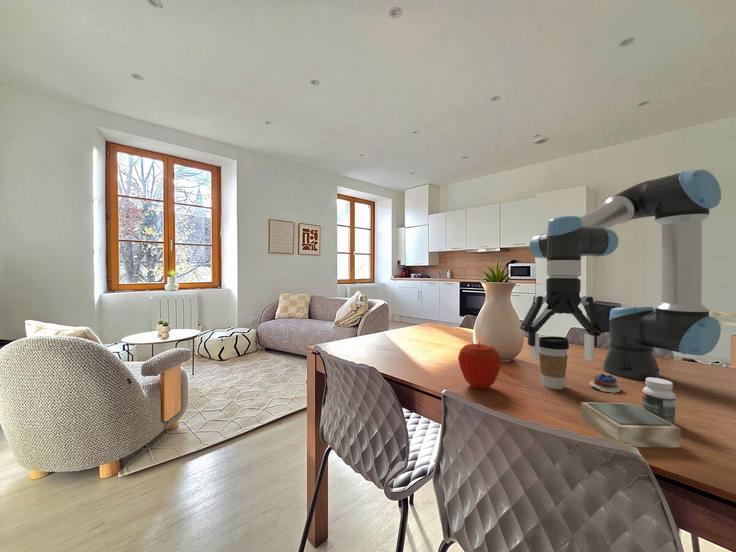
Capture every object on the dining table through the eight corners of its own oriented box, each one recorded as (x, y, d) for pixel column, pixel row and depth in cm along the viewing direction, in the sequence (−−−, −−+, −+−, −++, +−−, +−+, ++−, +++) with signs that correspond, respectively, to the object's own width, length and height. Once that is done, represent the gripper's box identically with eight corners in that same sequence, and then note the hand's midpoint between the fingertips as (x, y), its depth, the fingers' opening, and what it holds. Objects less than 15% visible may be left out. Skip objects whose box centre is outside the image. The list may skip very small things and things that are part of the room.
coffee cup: (573, 392, 92) (574, 341, 92) (542, 390, 94) (542, 340, 94) (562, 382, 100) (562, 335, 100) (533, 380, 102) (533, 334, 102)
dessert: (602, 378, 100) (614, 368, 96) (618, 398, 95) (631, 388, 91) (581, 381, 98) (592, 370, 94) (596, 401, 93) (608, 391, 89)
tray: (632, 419, 75) (632, 402, 75) (680, 448, 63) (680, 426, 63) (580, 418, 75) (580, 401, 75) (618, 446, 63) (618, 425, 63)
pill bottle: (635, 417, 76) (636, 376, 76) (657, 416, 77) (657, 376, 77) (659, 429, 70) (659, 385, 70) (682, 428, 71) (683, 384, 71)
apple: (506, 386, 96) (507, 341, 96) (491, 398, 88) (491, 348, 87) (468, 377, 105) (468, 335, 105) (451, 387, 96) (451, 341, 96)
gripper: (602, 277, 84) (601, 356, 84) (508, 276, 85) (506, 354, 85) (624, 278, 77) (622, 364, 77) (520, 276, 78) (518, 362, 78)
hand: (561, 359), depth 81 cm, fingers open, 13 cm apart
